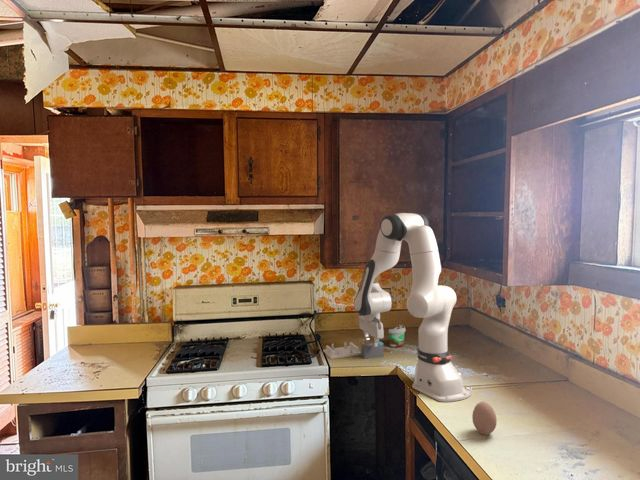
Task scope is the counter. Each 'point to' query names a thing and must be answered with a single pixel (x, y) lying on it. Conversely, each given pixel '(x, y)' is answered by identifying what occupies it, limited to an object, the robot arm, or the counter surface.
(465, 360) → the counter surface
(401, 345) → the food container
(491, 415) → the egg
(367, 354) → the block
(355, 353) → the pin tray
